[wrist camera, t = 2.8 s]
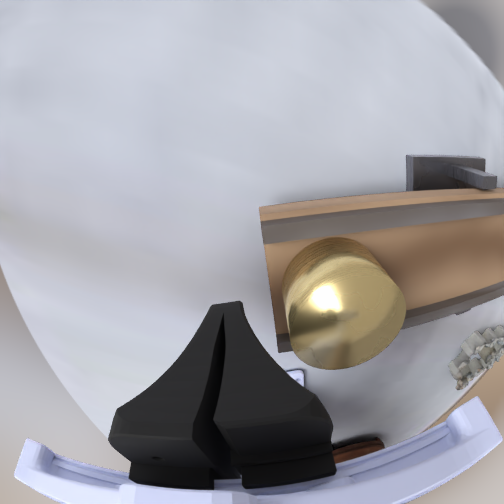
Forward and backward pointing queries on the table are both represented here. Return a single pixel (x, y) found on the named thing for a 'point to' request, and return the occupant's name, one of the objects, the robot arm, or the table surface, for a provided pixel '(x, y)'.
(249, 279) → the table surface
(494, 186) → the pivot bracket
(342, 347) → the brass weight
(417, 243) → the beam
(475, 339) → the egg carton
